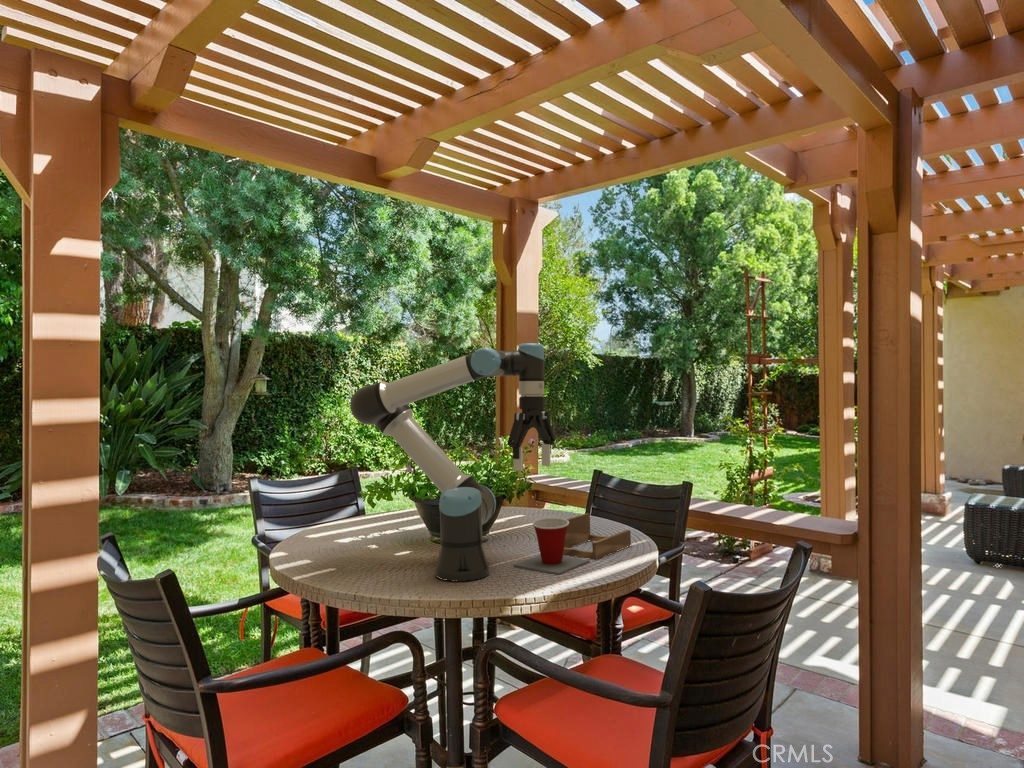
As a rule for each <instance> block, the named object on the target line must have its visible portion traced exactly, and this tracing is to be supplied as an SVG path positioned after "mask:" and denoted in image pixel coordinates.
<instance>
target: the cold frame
mask: <svg viewBox="0 0 1024 768" xmlns="http://www.w3.org/2000/svg"><path fill="white" fill-rule="evenodd" d="M590 516H591V514H590V513H583V514H579V515H576V516H573V517H569V518H565V519H566V520H568V521H569V525H568V527H567V531H566V537H565V544H564V551H563V556H567V555H569V556H568V557H574V556H577V557H576V558H580V557H584V558H583V559H586V558H590V559H589V560H593V559H598V560H599V558H600V559H602V558H604V557H603V556H605V555H607V556H609V555H608V554H610V553H612V554H614V553H613V552H615V551H617V550H619V551H621V550H620V549H622V548H624V549H626V548H625V547H627V546H629V547H631V546H632V539H631V538H632V537H631V534H632V533H631V529H626V530H624V531H620V532H617V533H615V534H613V535H612V534H611V535H610V536H605V535H598V534H591V517H590ZM588 540H590V541H588ZM585 541H587V542H592V541H596V542H592V549H591V550H592V551H591V550H585V549H577V548H573V547H572V546H574V545H576V546H578V545H577V544H579V545H581V544H580V543H582V544H584V543H583V542H585ZM585 543H586V542H585ZM630 545H631V546H630ZM570 547H571V548H570ZM574 547H575V546H574ZM627 548H628V547H627ZM622 550H623V549H622ZM617 552H618V551H617ZM615 553H616V552H615ZM610 555H611V554H610ZM601 557H602V558H601ZM605 557H606V556H605Z"/></svg>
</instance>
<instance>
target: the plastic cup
mask: <svg viewBox="0 0 1024 768" xmlns="http://www.w3.org/2000/svg"><path fill="white" fill-rule="evenodd" d="M566 519H567V518H561V517H543V518H539V519H535V520H533V521H532V526H533V528H534V531H535V534H536V539H537V545H538V551H539V555H541V560H542V563H544V564H549V565H555V564H560V563H561V562H562V557H563V556H564V555H563V551H564V544H565V537H566V531H567V527H568V525H569V521H568V520H566Z"/></svg>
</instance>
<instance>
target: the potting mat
mask: <svg viewBox="0 0 1024 768" xmlns="http://www.w3.org/2000/svg"><path fill="white" fill-rule="evenodd" d="M589 562H590V563H591V559H586V558H579V557H573V556H566V555H563V557H562V562H561V563H560V564H555V565H549V564H544V563H542V560H541V554H539V555H537V556H533V557H532V558H529V559H526V560H525V559H524V560H523V561H520V562H517V563H515V564H513V565H512V567H513V566H515V567H514V568H517V567H519V568H518V569H522V568H524V570H528V571H534V572H539V573H545V574H550V575H551V574H552V575H555V576H556V575H557V576H561V575H564V574H565V573H568V572H570V571H572V570H575V569H578V568H579V566H580V567H582V566H584V564H585V565H587V564H590V563H589ZM586 563H587V564H586ZM581 565H582V566H581Z"/></svg>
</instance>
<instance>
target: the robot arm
mask: <svg viewBox="0 0 1024 768" xmlns="http://www.w3.org/2000/svg"><path fill="white" fill-rule="evenodd" d="M544 351H545V348H544V346H543V344H542V343H539V342H537V343H535V342H532V343H531V342H528V343H527V342H526V343H520V344H519V345H518V349H516V350H498V349H494V348H491V347H487V346H485V347H481V348H477V349H476V350H475V351H474V352H472V353H469V354H466V355H463V356H459V357H458V358H455V359H452V360H449V361H446V362H443V363H440V364H438V365H435V366H431V367H429V368H426V369H424V370H421V371H418V372H416V373H413V374H410V375H407V376H404V377H402V378H398V379H395V380H392V381H390V382H386V381H384V380H383V381H380V382H377V383H374V384H373V383H372V384H369V385H365V386H362V387H360V388H358V389H357V390H356V391H355V392H354V393H353V395H352V396H351V399H350V403H349V405H350V407H349V408H350V411H351V413H352V416H353V417H354V418H355V420H357V421H358V422H359V423H360V424H364V425H368V426H369V425H370V426H371V425H374V426H375V428H377V430H379V432H380V433H381V434H382V435H383V436H385V437H386V436H388V437H391V438H393V439H392V440H394V441H395V442H396V444H398V445H399V447H400V448H401V449H402V450H403V451H404V452H405V453H406V454H407V455H408V457H409V458H410V459H411V460H412V461H413V462H414V463H415V464H416V465H417V467H418V468H419V469H420V470H421V471H422V472H423V474H425V476H426V477H427V478H428V479H429V480H430V481H431V482H432V483H433V485H434V486H435V487H436V488H437V489H438V491H440V493H441V494H440V496H439V502H438V503H439V504H438V509H439V528H440V529H439V531H440V549H439V553H438V557H437V561H436V564H435V567H434V576H435V575H436V576H438V577H440V578H442V579H447V580H455V581H454V582H467V581H466V580H471V581H476V580H475V579H477V580H481V579H483V578H486V577H487V576H489V575H490V564H489V562H488V560H487V556H486V552H485V549H484V546H483V526H484V525H486V524H487V523H488V522H489V521H490V520H491V519H492V517H493V516H494V514H495V511H496V507H497V500H496V496H495V495H494V493H493V491H492V490H491V489H490V488H489V487H487V486H485V485H483V484H480V482H478V481H477V480H476V479H475V478H474V476H472V475H471V474H464V473H463V472H462V471H461V469H459V467H458V466H457V465H456V464H455V462H453V461H452V459H450V457H449V456H448V455H447V454H446V453H445V452H444V450H443V449H442V448H440V446H439V445H438V444H437V443H436V442H435V441H434V439H433V438H431V436H430V435H429V434H428V432H426V431H425V430H424V429H423V427H422V426H421V425H420V424H419V423H418V422H417V421H416V419H415V418H414V417H413V411H414V410H413V409H412V408H411V407H410V405H408V404H411V403H412V404H413V403H415V402H417V401H420V400H423V399H425V398H429V397H433V396H434V395H438V394H440V393H444V392H447V391H449V390H451V389H455V388H457V387H460V386H463V385H465V384H469V383H471V382H474V381H477V380H481V379H484V378H486V377H489V378H492V377H511V376H512V377H517V376H518V395H520V397H518V407H519V409H520V410H521V412H514V414H513V415H514V417H513V423H512V426H511V430H510V433H509V437H508V439H507V446H508V447H509V448H512V458H513V471H519V472H520V471H521V472H522V471H524V470H523V468H524V465H523V464H524V461H523V460H524V459H523V458H524V457H523V455H524V454H523V449H524V448H523V447H522V445H523V442H524V441H525V439H526V436H527V434H528V431H529V430H530V429H536V432H537V435H538V436H539V437H540V439H541V441H542V444H541V466H542V467H551V454H552V450H551V449H552V446H551V445H554V444H555V441H556V437H555V434H554V431H553V427H552V424H551V421H550V413H549V411H543V410H544V409H545V408H546V406H545V405H546V404H545V403H546V402H545V396H543V395H545V360H546V359H545V353H544ZM436 576H435V577H436ZM480 578H481V579H480ZM456 580H457V581H456Z"/></svg>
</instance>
